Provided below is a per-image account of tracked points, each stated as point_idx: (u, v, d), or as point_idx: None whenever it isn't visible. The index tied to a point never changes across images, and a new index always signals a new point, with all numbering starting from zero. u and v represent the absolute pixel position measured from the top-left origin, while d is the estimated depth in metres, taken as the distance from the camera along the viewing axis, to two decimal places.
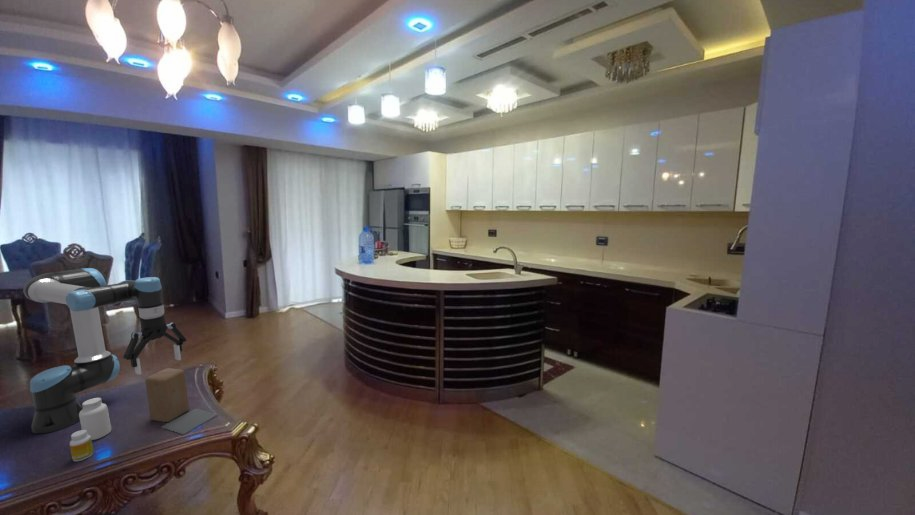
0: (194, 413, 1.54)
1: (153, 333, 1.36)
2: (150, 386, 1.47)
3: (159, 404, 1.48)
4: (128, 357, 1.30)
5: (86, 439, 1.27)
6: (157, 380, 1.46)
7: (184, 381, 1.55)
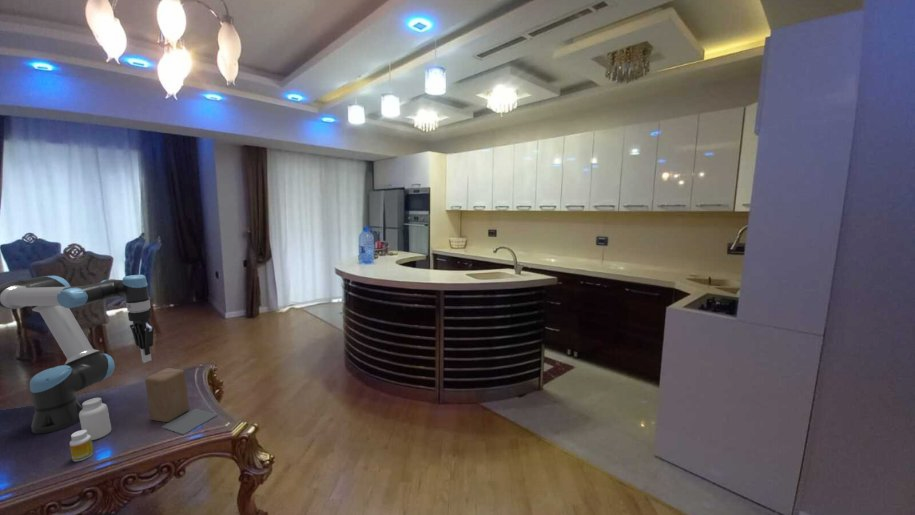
0: (194, 413, 1.54)
1: (134, 325, 1.50)
2: (150, 386, 1.47)
3: (159, 404, 1.48)
4: (136, 344, 1.53)
5: (86, 439, 1.27)
6: (157, 380, 1.46)
7: (184, 381, 1.55)
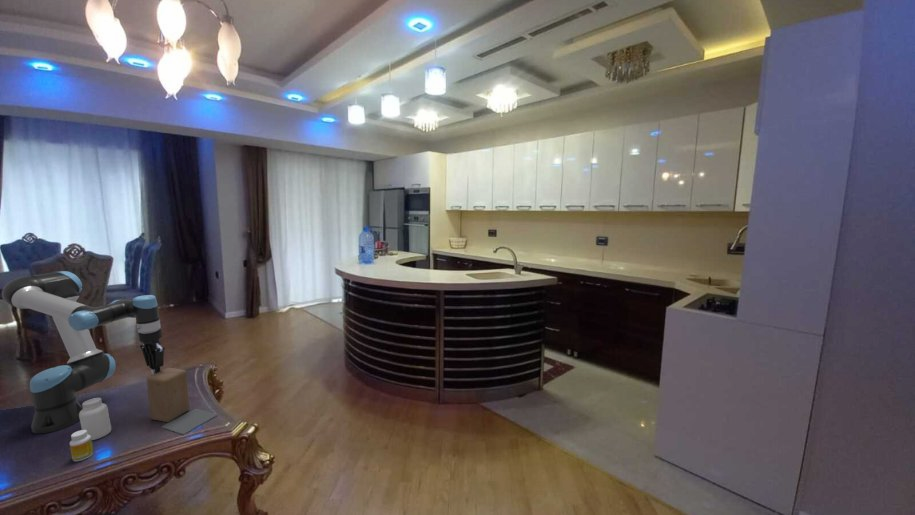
0: (194, 413, 1.54)
1: (144, 346, 1.50)
2: (152, 386, 1.47)
3: (160, 404, 1.47)
4: (147, 364, 1.53)
5: (86, 439, 1.27)
6: (159, 380, 1.46)
7: (185, 381, 1.55)
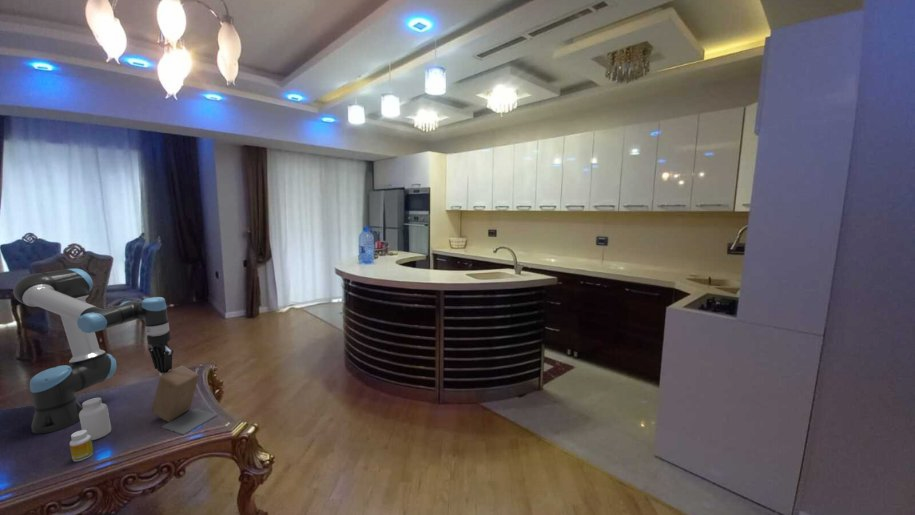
0: (194, 413, 1.54)
1: (153, 348, 1.48)
2: (163, 385, 1.45)
3: (166, 404, 1.47)
4: (155, 367, 1.51)
5: (86, 439, 1.27)
6: (173, 383, 1.44)
7: (195, 385, 1.54)
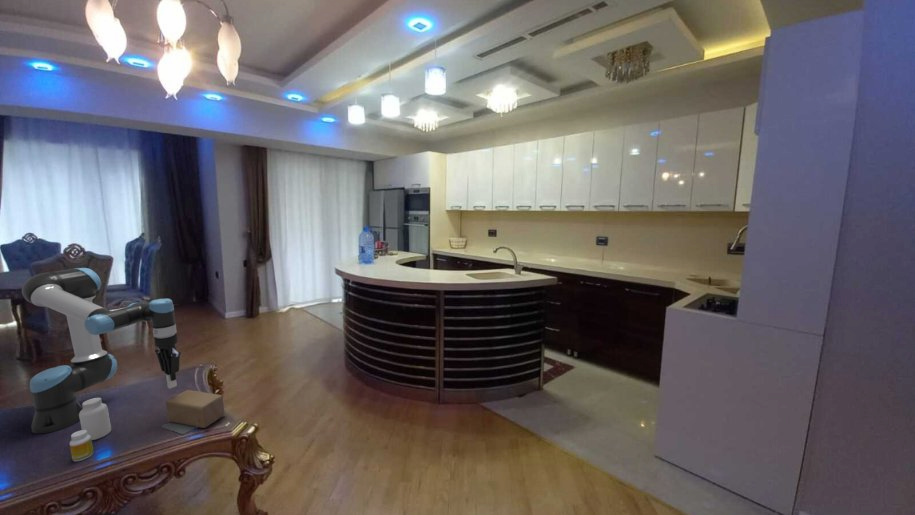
0: None
1: (160, 350, 1.46)
2: (195, 413, 1.43)
3: (181, 418, 1.46)
4: (161, 369, 1.49)
5: (86, 439, 1.27)
6: (203, 422, 1.43)
7: None
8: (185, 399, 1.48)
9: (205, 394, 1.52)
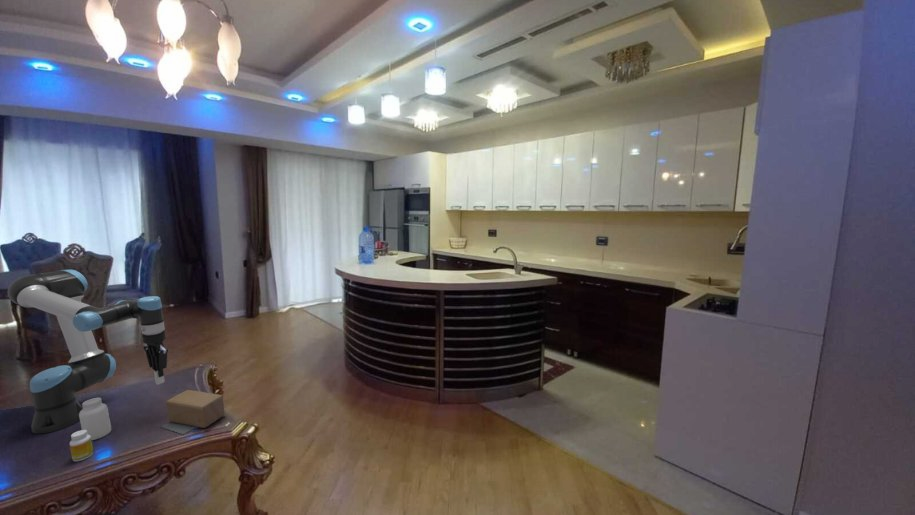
0: None
1: (148, 347, 1.49)
2: (195, 413, 1.43)
3: (181, 417, 1.46)
4: (149, 365, 1.52)
5: (86, 439, 1.27)
6: (203, 422, 1.44)
7: None
8: (186, 399, 1.48)
9: (205, 394, 1.52)
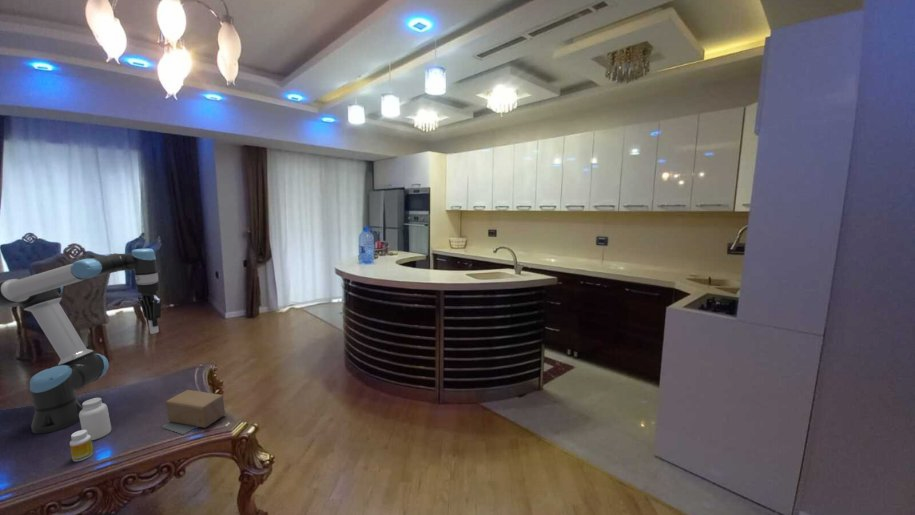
0: None
1: (142, 297, 1.55)
2: (196, 412, 1.44)
3: (181, 417, 1.46)
4: (144, 316, 1.58)
5: (86, 439, 1.27)
6: (203, 422, 1.44)
7: None
8: (186, 399, 1.48)
9: (205, 394, 1.52)
